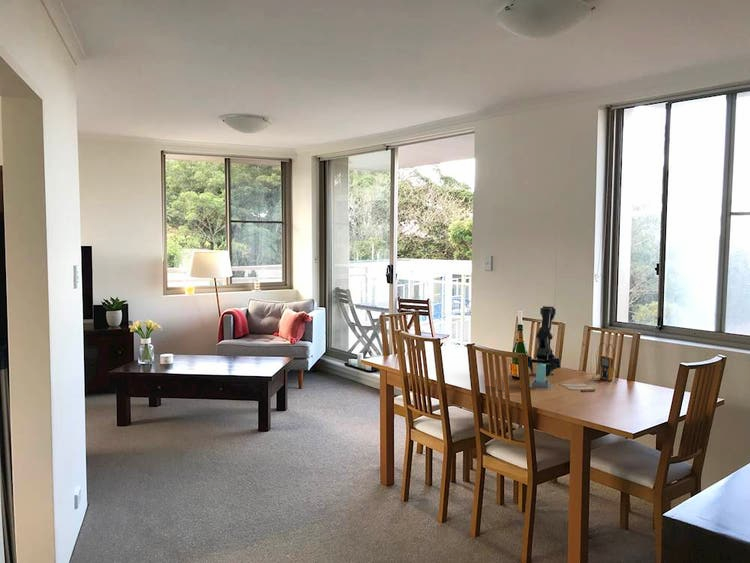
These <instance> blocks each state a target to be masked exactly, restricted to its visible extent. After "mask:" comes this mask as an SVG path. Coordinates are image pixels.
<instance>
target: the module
mask: <svg viewBox="0 0 750 563" xmlns="http://www.w3.org/2000/svg"><path fill="white" fill-rule="evenodd" d="M546 377H547V375H546V364H540V363H539V364H538V363H536V365H535V379H536V383H544V384H546V380H547V378H546Z"/></svg>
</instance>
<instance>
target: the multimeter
mask: <svg viewBox="0 0 750 563" xmlns="http://www.w3.org/2000/svg"><path fill="white" fill-rule="evenodd" d="M602 344H604V345H605V354H601V355H600V358H599V378H595V377H593V376H592V377H593V378H592V380H595V381H600V380H601V381H602V380H604V381H605V382H607V381H608V383H611V381H613V380H614V373H615V377H616V383H618V381H619V380H618V379H619V378H618V375H617V373H616V371H615V368H614V360H615V358H614V357H615V355H613V356H611V355H609V350H608V347H609V346H611V348H612V351H613V353H615V350H614V347H613V346H612V344H611V343H610V344H608V346H607V344H606V343H605V342H601V343H600V344H599V346H598V348H597V351H596V354H598V352H599V349H600V346H601V345H602ZM597 357H598V355H595V359H596V361H595V367H596V372H595V373H596V374H595V376H597V374H598V369H597V368H598V367H597V366H598V365H597V361H598V360H597V359H598V358H597ZM601 378H602V379H601Z"/></svg>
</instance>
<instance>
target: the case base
mask: <svg viewBox="0 0 750 563" xmlns="http://www.w3.org/2000/svg"><path fill="white" fill-rule="evenodd" d="M529 385H530V387H531V388H530V389H541V390H551V389H552V386H553V383H552V382H551V383H550V380H548V379H546V384H544V383H536V378H533V380H532V381H530V383H529Z"/></svg>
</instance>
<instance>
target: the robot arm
mask: <svg viewBox="0 0 750 563" xmlns="http://www.w3.org/2000/svg"><path fill="white" fill-rule="evenodd" d="M556 313H557V309H556V308H555V307H554V306H550V305H549V306H542V307H540V315H541V319H542V320H541V326H540V327H539V328H538V332H537V333H536V336H535V338H536V340H537V341H536V342H537V348H536V354H535V358H532V355H527V356H528V367H527V368H529V370H530V373H531V376H533V375H534V366H533V364H537V363H538V364H546V376H548V377H550V376H552V375H555V374H554V373H553V372H554V371H555V370H558V369H560V368H561V358H560V357H556V355H555V354H554V351H553V349H552V347H551V340H553V338H554V337H553V336H554V335H553V333H552V322H553V321H554V319H555V316H556V315H557V314H556Z"/></svg>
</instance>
